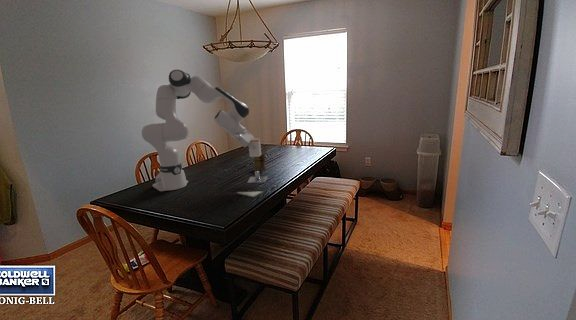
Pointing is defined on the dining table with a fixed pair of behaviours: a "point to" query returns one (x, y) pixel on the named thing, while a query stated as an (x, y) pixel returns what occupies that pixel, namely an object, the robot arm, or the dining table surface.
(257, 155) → the pink tall block
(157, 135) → the robot arm
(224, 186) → the dining table surface
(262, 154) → the wooden mug
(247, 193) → the pad
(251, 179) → the square base plate
